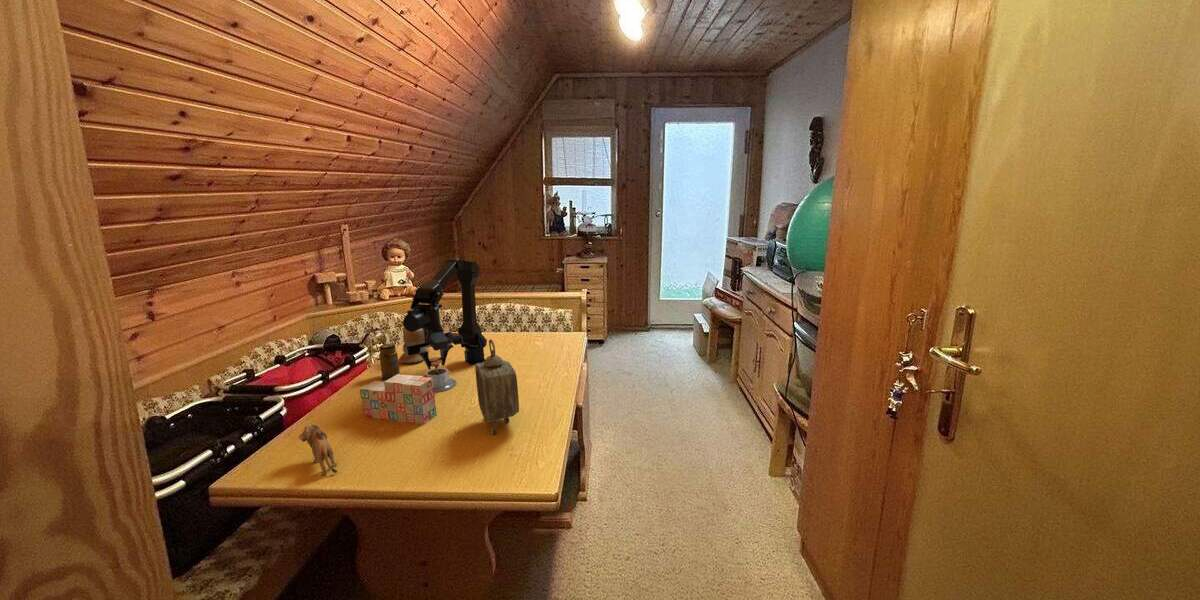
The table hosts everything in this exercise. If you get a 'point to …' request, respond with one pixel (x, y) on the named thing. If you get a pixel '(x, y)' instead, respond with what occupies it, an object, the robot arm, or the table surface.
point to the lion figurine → (319, 446)
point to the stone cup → (412, 337)
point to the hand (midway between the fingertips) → (436, 367)
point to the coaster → (451, 385)
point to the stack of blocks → (400, 399)
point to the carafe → (439, 377)
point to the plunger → (436, 363)
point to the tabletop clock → (496, 388)
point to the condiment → (388, 361)
